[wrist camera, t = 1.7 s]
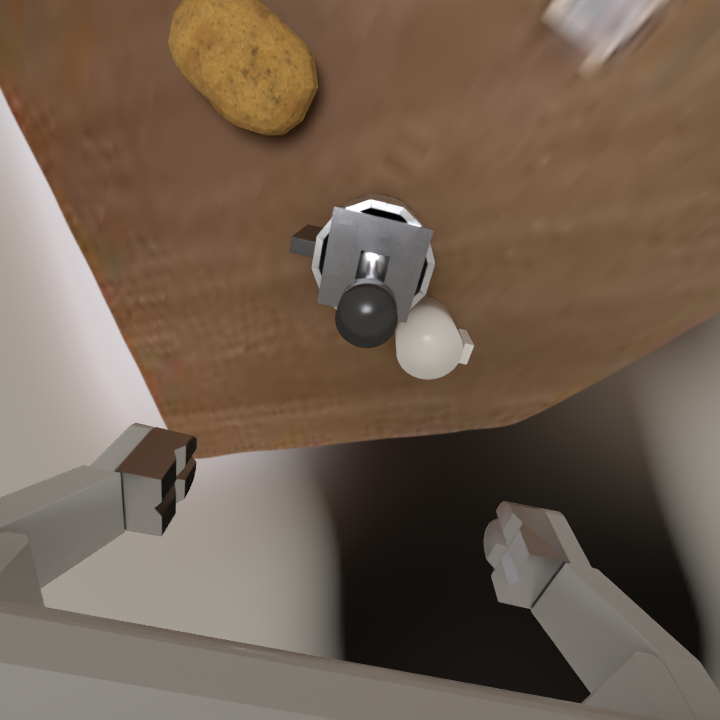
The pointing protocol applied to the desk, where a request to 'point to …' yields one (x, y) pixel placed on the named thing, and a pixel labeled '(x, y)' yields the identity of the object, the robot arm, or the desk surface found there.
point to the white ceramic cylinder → (431, 341)
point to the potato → (244, 63)
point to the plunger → (368, 304)
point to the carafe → (370, 249)
